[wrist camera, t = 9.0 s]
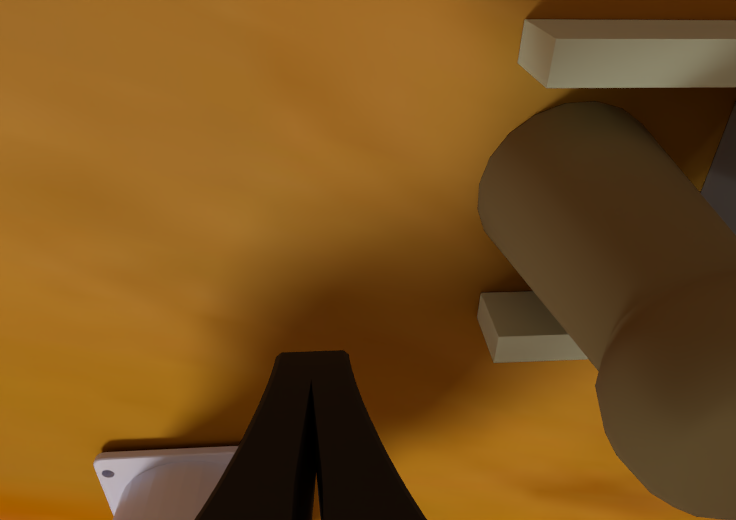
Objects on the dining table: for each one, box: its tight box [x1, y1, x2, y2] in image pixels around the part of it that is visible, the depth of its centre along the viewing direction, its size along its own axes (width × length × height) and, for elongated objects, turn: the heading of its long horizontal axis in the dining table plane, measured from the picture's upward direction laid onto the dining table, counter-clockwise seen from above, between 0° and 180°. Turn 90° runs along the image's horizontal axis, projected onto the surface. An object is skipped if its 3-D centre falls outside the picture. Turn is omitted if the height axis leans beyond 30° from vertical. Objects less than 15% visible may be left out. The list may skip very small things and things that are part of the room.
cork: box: [478, 101, 736, 520], centre depth 14 cm, size 6×6×11 cm
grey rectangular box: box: [477, 19, 736, 363], centre depth 17 cm, size 11×8×5 cm
